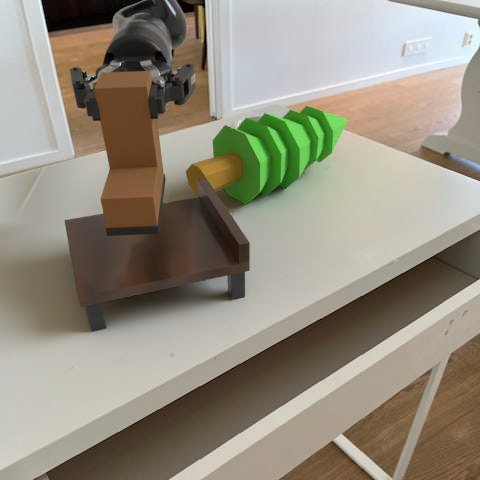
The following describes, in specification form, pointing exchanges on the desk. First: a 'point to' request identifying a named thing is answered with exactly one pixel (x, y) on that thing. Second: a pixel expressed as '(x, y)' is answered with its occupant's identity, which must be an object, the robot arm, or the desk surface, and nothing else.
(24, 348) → the desk surface
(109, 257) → the shoe shelf
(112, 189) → the boot
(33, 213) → the desk surface
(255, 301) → the desk surface
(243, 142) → the decorative tree
